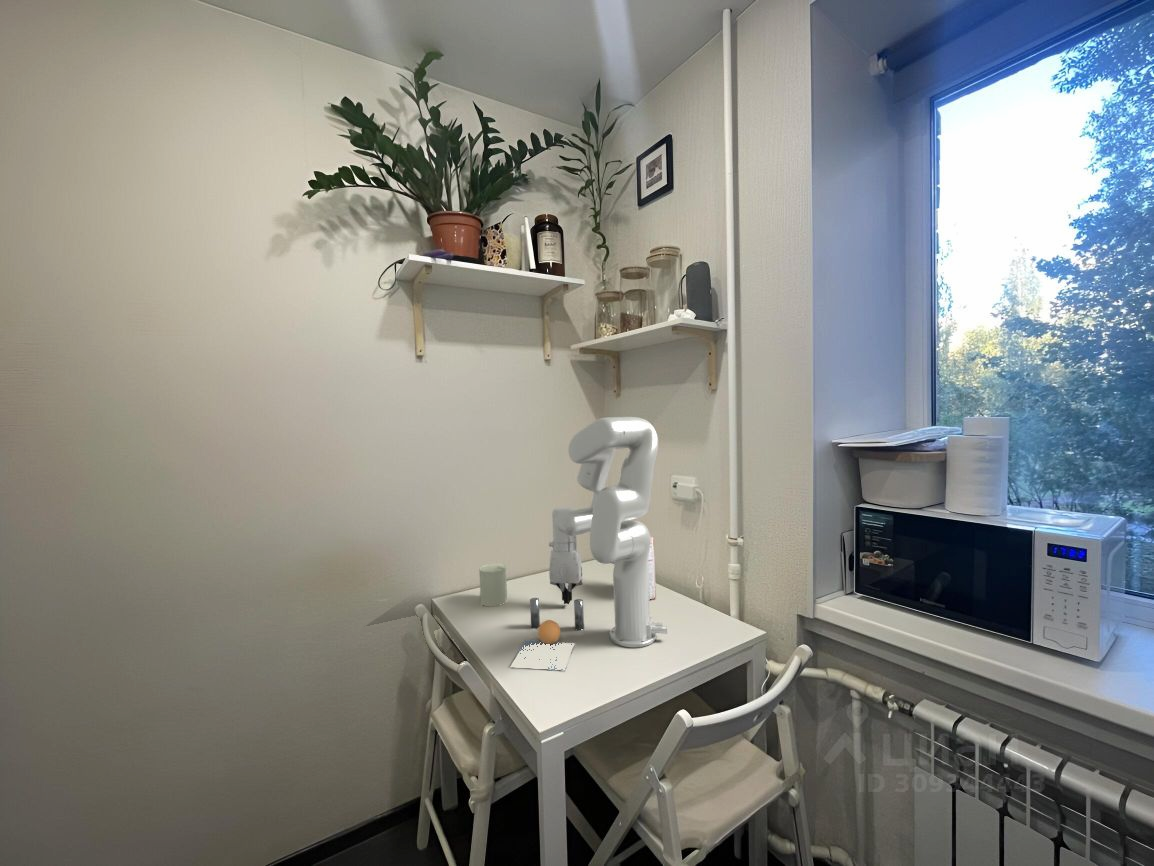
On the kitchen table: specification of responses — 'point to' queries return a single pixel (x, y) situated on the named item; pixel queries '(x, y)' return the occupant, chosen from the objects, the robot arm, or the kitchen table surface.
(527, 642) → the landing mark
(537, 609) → the outer post
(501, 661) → the kitchen table surface
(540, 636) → the ball
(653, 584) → the cracker box
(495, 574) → the can
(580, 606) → the inner post
